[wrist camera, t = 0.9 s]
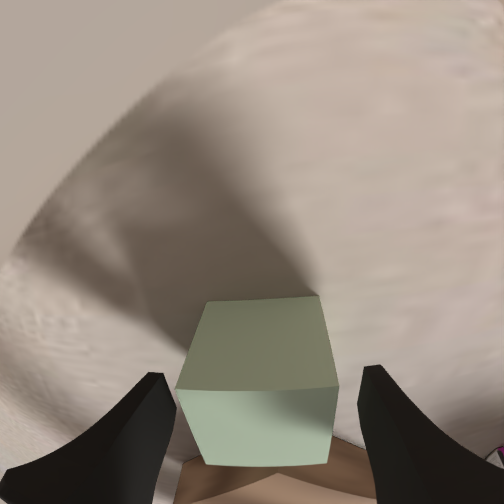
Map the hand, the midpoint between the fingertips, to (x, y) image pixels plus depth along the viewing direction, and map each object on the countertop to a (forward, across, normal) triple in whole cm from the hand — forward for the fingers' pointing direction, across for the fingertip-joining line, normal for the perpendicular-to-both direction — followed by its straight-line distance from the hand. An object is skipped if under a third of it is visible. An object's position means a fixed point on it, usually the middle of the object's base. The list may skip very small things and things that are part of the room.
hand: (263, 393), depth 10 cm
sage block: (+3, 0, 0) cm, 3 cm away
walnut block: (+3, 0, +12) cm, 12 cm away
